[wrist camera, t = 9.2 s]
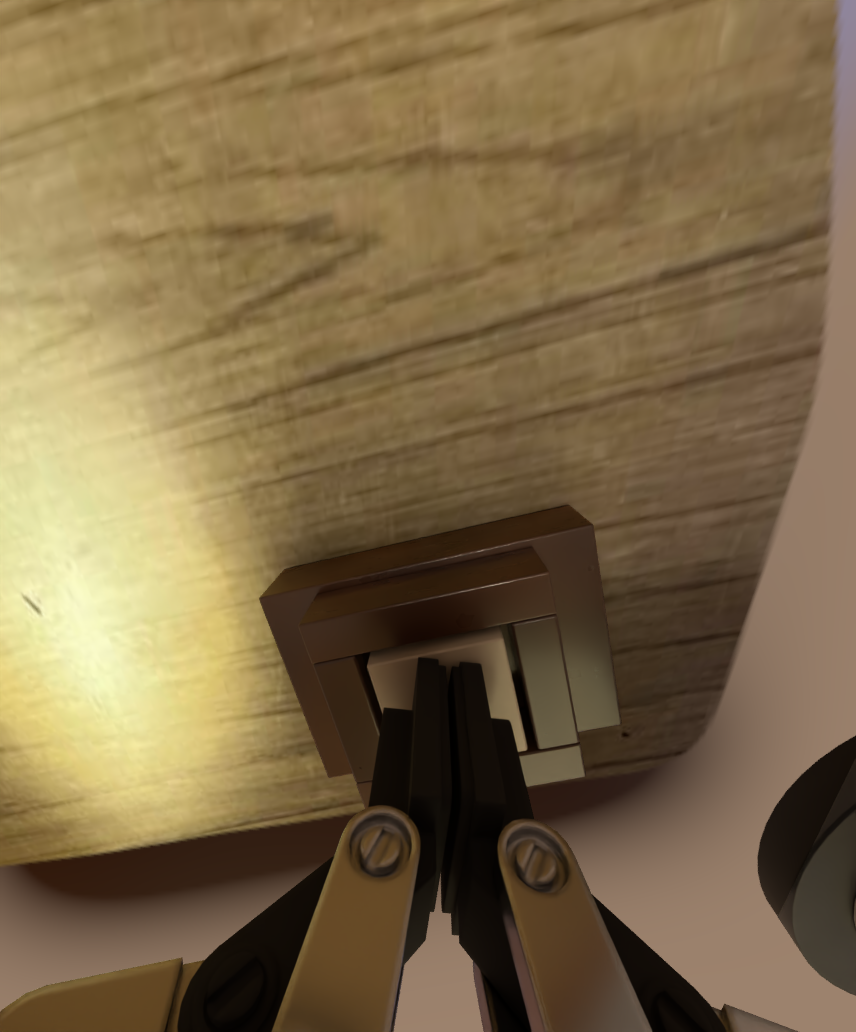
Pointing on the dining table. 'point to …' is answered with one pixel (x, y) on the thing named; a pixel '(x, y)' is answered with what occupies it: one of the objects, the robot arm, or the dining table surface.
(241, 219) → the dining table surface
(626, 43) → the dining table surface
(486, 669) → the key
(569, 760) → the block
